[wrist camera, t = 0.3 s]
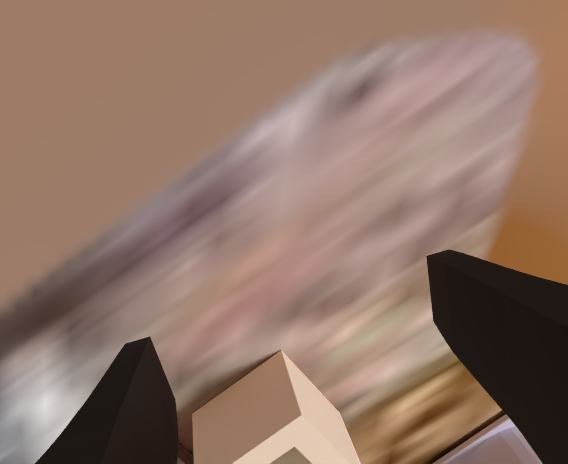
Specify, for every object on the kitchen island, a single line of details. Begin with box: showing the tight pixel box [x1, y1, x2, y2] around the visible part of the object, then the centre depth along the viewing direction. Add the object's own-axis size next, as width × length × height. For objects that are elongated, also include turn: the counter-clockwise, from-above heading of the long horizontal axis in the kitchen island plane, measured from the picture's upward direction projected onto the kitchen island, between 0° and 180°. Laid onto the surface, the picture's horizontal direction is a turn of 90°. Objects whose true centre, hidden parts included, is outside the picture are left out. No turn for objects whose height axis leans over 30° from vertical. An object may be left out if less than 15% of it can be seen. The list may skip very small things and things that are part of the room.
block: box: [192, 350, 361, 464], centre depth 24 cm, size 6×6×4 cm
